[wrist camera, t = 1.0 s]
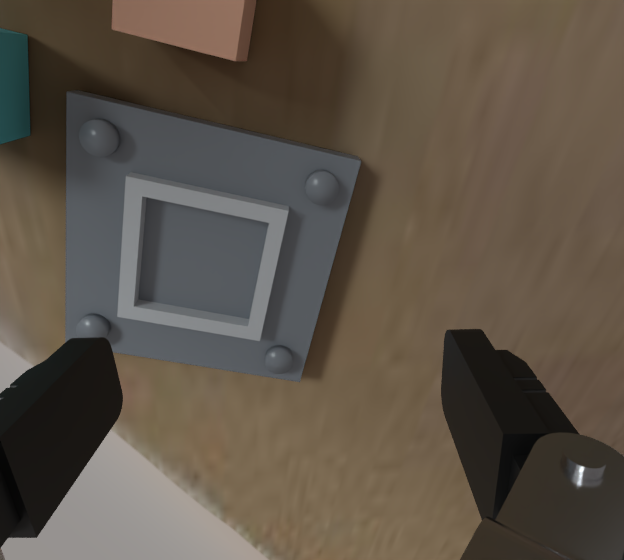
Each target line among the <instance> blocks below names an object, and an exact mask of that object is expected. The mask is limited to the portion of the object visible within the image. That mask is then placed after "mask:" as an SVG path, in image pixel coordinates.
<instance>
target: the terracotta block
mask: <svg viewBox="0 0 624 560" xmlns="http://www.w3.org/2000/svg"><path fill="white" fill-rule="evenodd" d="M256 1H257V0H113V8H112V30H116V31H120V32H124V33H127V34H131V35H135V36H139V37H143V38H147V39H151V40H155V41H158V42H162V43H166V44H170V45H174V46H178V47H182V48H186V49H190V50H193V51H197V52H201V53H205V54H209V55H213V56H217V57H221V58H225V59H228V60H232V61H247V58H248V51H249V45H250V39H251V32H252V26H253V20H254V13H255V7H256Z"/></svg>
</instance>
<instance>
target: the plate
mask: <svg viewBox="0 0 624 560" xmlns="http://www.w3.org/2000/svg"><path fill="white" fill-rule="evenodd" d="M360 164H361V160H360V159H359V157H358V156H354V155H350V154H346V153H342V152H337V151H333V150H329V149H325V148H320V147H316V146H312V145H308V144H304V143H299V142H295V141H291V140H287V139H282V138H278V137H274V136H270V135H265V134H261V133H257V132H253V131H249V130H244V129H240V128H236V127H232V126H227V125H223V124H219V123H215V122H211V121H206V120H202V119H198V118H194V117H189V116H185V115H181V114H177V113H173V112H168V111H164V110H160V109H156V108H151V107H147V106H143V105H139V104H134V103H130V102H126V101H122V100H118V99H113V98H109V97H105V96H101V95H96V94H92V93H88V92H84V91H80V90H75V91H68V92H67V100H66V341H65V343H66V342H67V341H68V340H69V339H71V338H92V337H104V338H106V339H107V340H108V341H109V342H110V345H111V348H112V352H115V353H122V354H128V355H134V356H140V357H147V358H153V359H159V360H165V361H172V362H178V363H184V364H190V365H197V366H203V367H209V368H215V369H222V370H228V371H234V372H240V373H247V374H253V375H259V376H265V377H272V378H278V379H284V380H290V381H297V382H300V379H301V376H302V372H303V368H304V365H305V361H306V358H307V354H308V351H309V347H310V343H311V340H312V336H313V333H314V329H315V325H316V322H317V318H318V315H319V311H320V307H321V304H322V300H323V297H324V293H325V290H326V286H327V282H328V279H329V275H330V272H331V268H332V264H333V261H334V257H335V254H336V250H337V247H338V243H339V239H340V236H341V232H342V229H343V225H344V221H345V218H346V214H347V211H348V207H349V204H350V200H351V196H352V193H353V189H354V186H355V182H356V178H357V175H358V171H359V168H360Z"/></svg>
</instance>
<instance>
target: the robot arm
mask: <svg viewBox="0 0 624 560" xmlns="http://www.w3.org/2000/svg"><path fill="white" fill-rule="evenodd" d="M441 397H442V406H443V411H444V415H445V418H446V421H447V424H448V426H449V429H450V432H451V435H452V438H453V440H454V443H455V446H456V449H457V451H458V454H459V457H460V460H461V463H462V465H463V468H464V471H465V474H466V477H467V479H468V482H469V485H470V488H471V491H472V493H473V496H474V499H475V502H476V504H477V507H478V510H479V513H480V516H481V518H482V521H481V523H480V524H479V526H478V528H477V529H476V531H475V533H474V535H473V537H472V539H471V540H470V542H469V544H468V546H467V548H466V550H465V551H464V553H463V555H462V557H461V559H460V560H624V456H623V455H621V454H620V453H619V452H617V451H616V450H615V449H613V448H611V447H610V446H608V445H606V444H604V443H602V442H600V441H598V440H595V439H593V438H590V437H587V436H584V435H580V434H579V433H578V432H577V430H576V429H575V428H574V426H573V425H572V424H571V422H570V421H569V420H568V418H567V417H566V416H565V414H564V413H563V412H562V410H561V409H560V408H559V406H558V405H557V404H556V402H555V401H554V400H553V398H552V397H551V396H550V394H549V393H546V389H545V388H544V386H543V385H542V383H541V382H540V381H539V380H537V377H536V375H535V374H534V373H533V371H532V370H531V369H530V367H529V366H528V365H527V363H526V362H525V361H523V360H522V359H520V358H518V357H517V356H515V355H514V354H512V353H511V352H509V351H508V350H495V349H494V347H493V346H492V344H491V343H490V341H489V340H488V338H487V337H486V335H485V334H484V332H483V331H482V330H481V329H460V330H447V331H446V333H445V338H444V352H443V368H442V384H441ZM122 402H123V395H122V389H121V385H120V381H119V377H118V372H117V368H116V364H115V360H114V356H113V352H112V348H111V345H110V342H109V341H108V340H107V339H106V338H104V337H92V338H71V339H69V340H68V341H67V342H66V343H65V344H63V345H62V346H61V347H60V348H59V349H58V350H57V351H56V352H55V353H53V354H52V355H51V356H50V357H49V358H48V359H47V360H45V361H43V362H42V363H40V364H38V365H36V366H34V367H33V368H31V369H29V370H27V371H26V372H25V373H23V374H22V375H21V376H20V377H19V378H18V379H16V380H15V381H14V382H13V383H12V384H11V385H10V388H6V389H5V390H4V391H3V392H2V393H0V560H5V558H4V555H3V553H2V550H1V546H2V545H3V544H4V542H5V541H6V540H7V538H9V537H10V538H11V537H12V538H16V537H19V538H25V537H27V538H35V537H36V538H37V536H38V535H39V533H40V532H41V530H42V529H43V528H44V526H45V525H46V523H47V521H48V520H49V519H50V517H51V516H52V514H53V513H54V511H55V510H56V509H57V507H58V506H59V504H60V503H61V501H62V500H63V498H64V497H65V495H66V494H67V492H68V491H69V489H70V488H71V486H72V485H73V484H74V482H75V481H76V479H77V478H78V476H79V475H80V473H81V472H82V470H83V469H84V467H85V466H86V465H87V463H88V462H89V460H90V459H91V457H92V456H93V454H94V453H95V451H96V450H97V448H98V447H99V446H100V444H101V443H102V441H103V440H104V438H105V437H106V435H107V434H108V432H109V431H110V429H111V428H112V426H113V425H114V424H115V422H116V421H117V419H118V417H119V415H120V412H121V409H122Z"/></svg>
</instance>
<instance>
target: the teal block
mask: <svg viewBox="0 0 624 560" xmlns="http://www.w3.org/2000/svg"><path fill="white" fill-rule="evenodd" d="M27 136H30V102H29V68H28V35H26V34H22V33H18V32H14V31H10V30H6V29H2V28H0V144H3V143H6V142H10V141H13V140H16V139H20V138H23V137H27Z"/></svg>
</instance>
